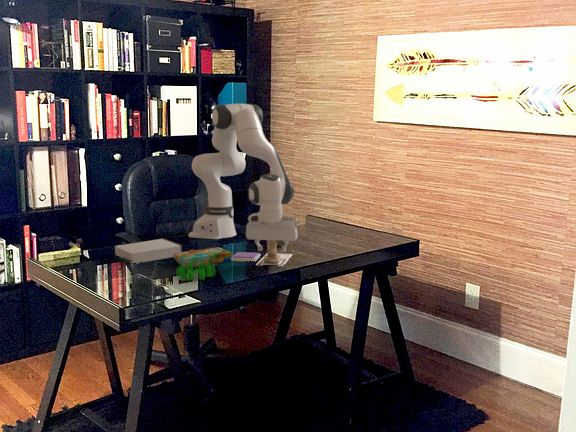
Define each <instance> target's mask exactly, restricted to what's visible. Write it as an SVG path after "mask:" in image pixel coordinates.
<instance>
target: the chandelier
mask: <svg viewBox="0 0 576 432" xmlns="http://www.w3.org/2000/svg"><path fill="white" fill-rule="evenodd" d="M192 260H193V261H195V267H193V265H192V264H191V263H188V265H187V267H186V266H184V265H181V264H179V265H178V266H177V267H176V275H175V276H176V277H177V278H178V279H179V280H181V279H186V280H187V281H188V282H190V281H193V280H194V278H195V277H194V274H198V279H199V280H202V281H205V279H206V277H207V278H210V277H211V278H214V277H215V276H216V268H215V265H214V264H207V265H204V264H203V262H200V263H199V266H196V261H197V260H198V258H193V259H192ZM197 268H198V269H197Z"/></svg>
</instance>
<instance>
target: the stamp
mask: <svg viewBox="0 0 576 432" xmlns="http://www.w3.org/2000/svg"><path fill="white" fill-rule="evenodd" d="M266 250H267V253H266V254H267V255H266V254H265V255H264V256H263V257H264V263H273V264H278V263H279V262H280V255H277V254H278V253H277V242H276V240H266Z"/></svg>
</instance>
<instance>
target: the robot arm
mask: <svg viewBox="0 0 576 432" xmlns="http://www.w3.org/2000/svg"><path fill="white" fill-rule="evenodd" d="M211 115H212V116H211V119H212V124H213V126H214V127H213V132H212V138H211V143H212V146H213V147H214V148H215V150H217V151H219V152H212V153H203V154H199V155H196V156H195V157H194V158H192V162H191V169H192V172H193V174H194V175H195V176H196V177H198V178H199V179H200V180H201V181H202V182H203V184H204V185H205V187H206V190H207V199H208V202H207V203H208V205H206V207H204V209H203V212H204V213H205V214H203V215H202V216H200V218H198V219H197V220H196V221H195V222H194V223H193V228H192V229H193V230H192V231H190V232H189V233H188V237H189V238H194V239H209V240H219V239H228V238H232V237H235V236H237V234H238V233H237V231H236V228H235V223H234V212H235V211H234V205H233V195H232V194H233V193H232V188H231V187H230V186H229V185H227V184H225V183H222V181H221V177H229V176H232V177H233V176H235V175H240V174H243V172H244V171H245V169H246V165H247V164H246V163H247V162H246V159H245V157H244V156H243V154H241V153H240V152H239V151H238V149H237V146H238V147H239V149H240V151H242V153H244V154H245V155H247V156H250V157H253V158H256V159H260V160H262V161H264V162H266V163H267V164H268V165H269V167H270V170H271V172H272V173H266V174H262V175H261V176H260V177H259V178H260V179H258V180H257V181H256V180H255V181H254V182H251V184H250V185H249V186H248V191H247V193H248V194H247V195H248V200H249V201H250V203H252V204H253V205H254V206H255V205H256V206H260V207H259V211H257V212H254V213H252V214H249V216H248V218H247V219H248V222H247V224H246V226H245V227H246V228H245V237H246V239H247V240H253V241H254V243H255V245H256V246H257V252H261V251H263V249H264V248H263V245H261V244H260V241H267V240H283V241H284V243H285V245H284V246H282V247H281V250H280V251H281V252H282V253H283V252H286V251H287V248H286V247H287V246H288V244H289V242H290V241H291V242H294V241H296V240H297V239H298V229H297V228H298V227H299V226H298V223H299V222H298V219H296V218H295V217H294V216H283V205H287V204H289V203H290V202H291V201H292V200H293V198H294V196H295V188H294V185H293V184H292V181H291V180H290V179H289V177H288V174H287V172H286V169H285V167H284V165H283V162H282V160H281V157H280V155H279V153H278V151H277V149H276V147H275V146H274V144H272V143H271V142H269V141H268V139H267V138H266V136H265V134H264V131H263V130H264V129H263V126H262V124H263V120H264V114H263V110H262V108H261V107H260V106H259V105H257V104H254V103H250V104H249V103H230V104H218V105H216V106H214V107H213V110H212V114H211ZM237 144H238V145H237Z"/></svg>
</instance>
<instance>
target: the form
mask: <svg viewBox="0 0 576 432" xmlns="http://www.w3.org/2000/svg"><path fill="white" fill-rule="evenodd" d="M265 255H267V253H265ZM277 255H280V262H279V263H278V264H270V263H264V256H263V257H262V258H261V259H260V260H258V261H257V263H255V266H263V265H278V266H277V267H284V266H285V265H286V264H287V262H288V261H289V260H290V259H291V257H292V256H293V255H294V254H293V253H277ZM289 258H290V259H289ZM259 264H260V265H259ZM284 264H285V265H284ZM283 265H284V266H283Z"/></svg>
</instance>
